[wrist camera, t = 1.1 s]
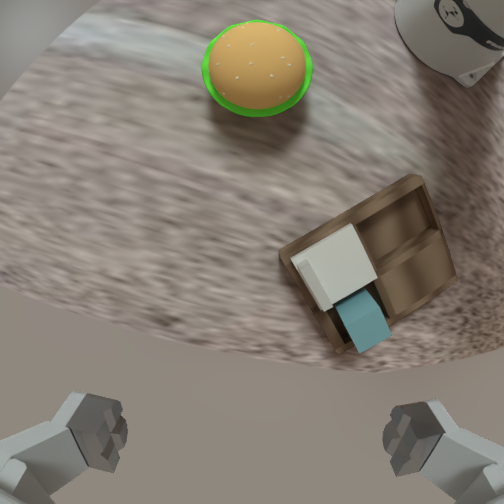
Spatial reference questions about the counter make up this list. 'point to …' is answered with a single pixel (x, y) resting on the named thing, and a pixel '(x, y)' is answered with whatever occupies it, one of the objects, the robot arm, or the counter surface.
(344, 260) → the cover
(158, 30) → the counter surface
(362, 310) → the block
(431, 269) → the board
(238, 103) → the hamburger
